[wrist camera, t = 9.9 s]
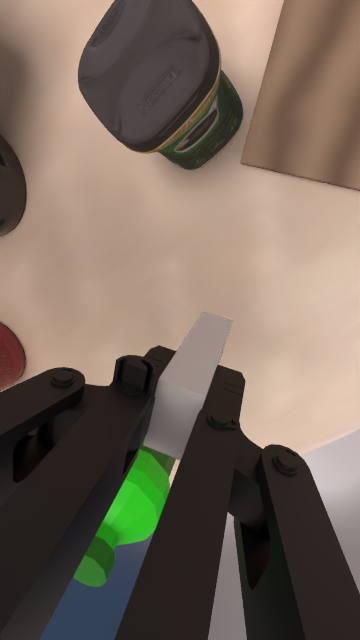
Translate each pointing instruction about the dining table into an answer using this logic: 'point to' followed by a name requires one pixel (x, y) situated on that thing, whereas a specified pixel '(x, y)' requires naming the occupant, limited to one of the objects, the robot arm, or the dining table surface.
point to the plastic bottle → (129, 514)
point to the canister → (10, 358)
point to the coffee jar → (160, 81)
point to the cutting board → (311, 95)
